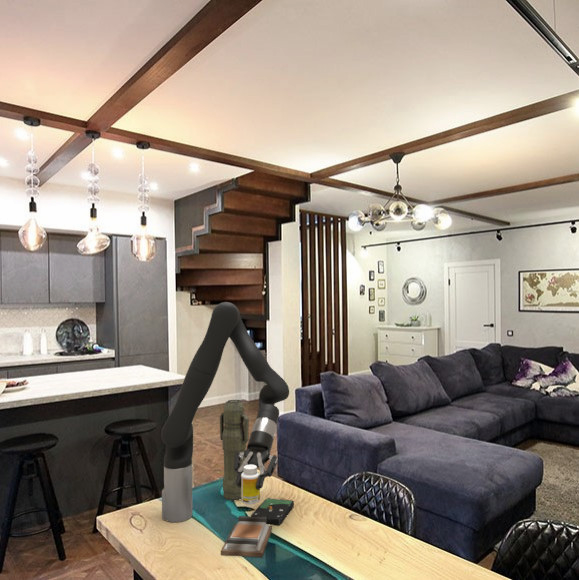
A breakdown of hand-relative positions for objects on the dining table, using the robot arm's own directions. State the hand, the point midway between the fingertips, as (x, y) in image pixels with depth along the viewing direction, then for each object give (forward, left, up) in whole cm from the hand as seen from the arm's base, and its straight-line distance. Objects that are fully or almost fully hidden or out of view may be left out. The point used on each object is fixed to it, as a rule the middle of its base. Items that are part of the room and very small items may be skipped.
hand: (248, 487), depth 137 cm
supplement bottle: (0, +2, -5) cm, 5 cm away
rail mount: (-1, +2, -17) cm, 17 cm away
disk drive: (+4, +21, -18) cm, 27 cm away
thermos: (-13, +34, -17) cm, 40 cm away
